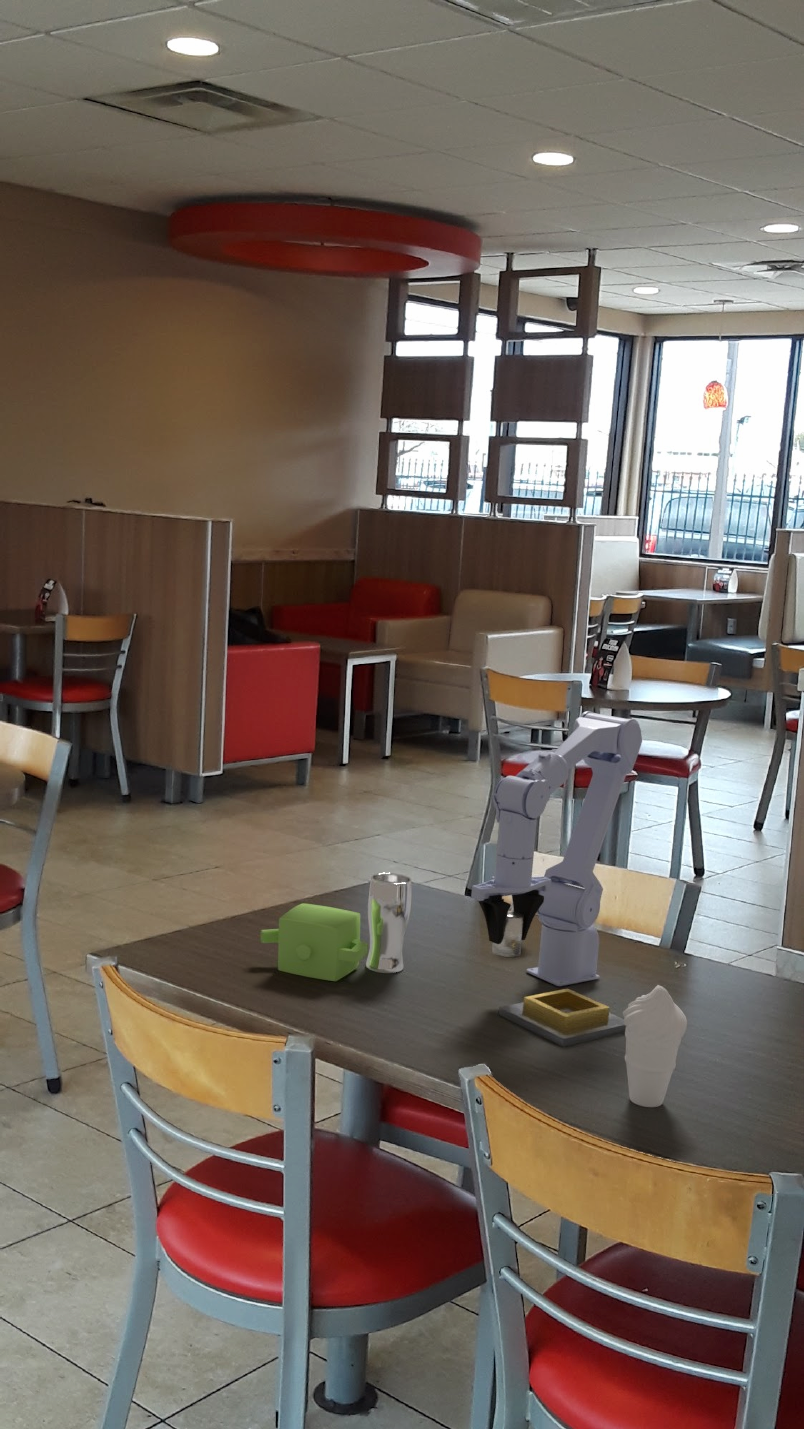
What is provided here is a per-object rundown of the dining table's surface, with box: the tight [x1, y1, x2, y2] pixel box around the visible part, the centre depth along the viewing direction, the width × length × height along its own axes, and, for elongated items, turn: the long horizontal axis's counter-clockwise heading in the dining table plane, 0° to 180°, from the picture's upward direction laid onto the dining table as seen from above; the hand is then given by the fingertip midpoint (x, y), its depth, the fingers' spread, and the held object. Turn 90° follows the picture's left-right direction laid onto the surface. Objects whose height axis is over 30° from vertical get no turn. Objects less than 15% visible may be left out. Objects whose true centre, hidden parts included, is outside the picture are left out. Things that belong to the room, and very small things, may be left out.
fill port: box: [498, 987, 626, 1048], centre depth 213 cm, size 14×14×3 cm
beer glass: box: [365, 872, 412, 974], centre depth 231 cm, size 7×7×15 cm
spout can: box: [491, 910, 524, 958], centre depth 220 cm, size 4×4×8 cm
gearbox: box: [260, 902, 369, 982], centre depth 227 cm, size 18×10×10 cm, turn 67°
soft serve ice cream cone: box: [622, 984, 688, 1108], centre depth 185 cm, size 8×8×16 cm
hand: (507, 940), depth 220 cm, fingers closed on spout can, 4 cm apart
